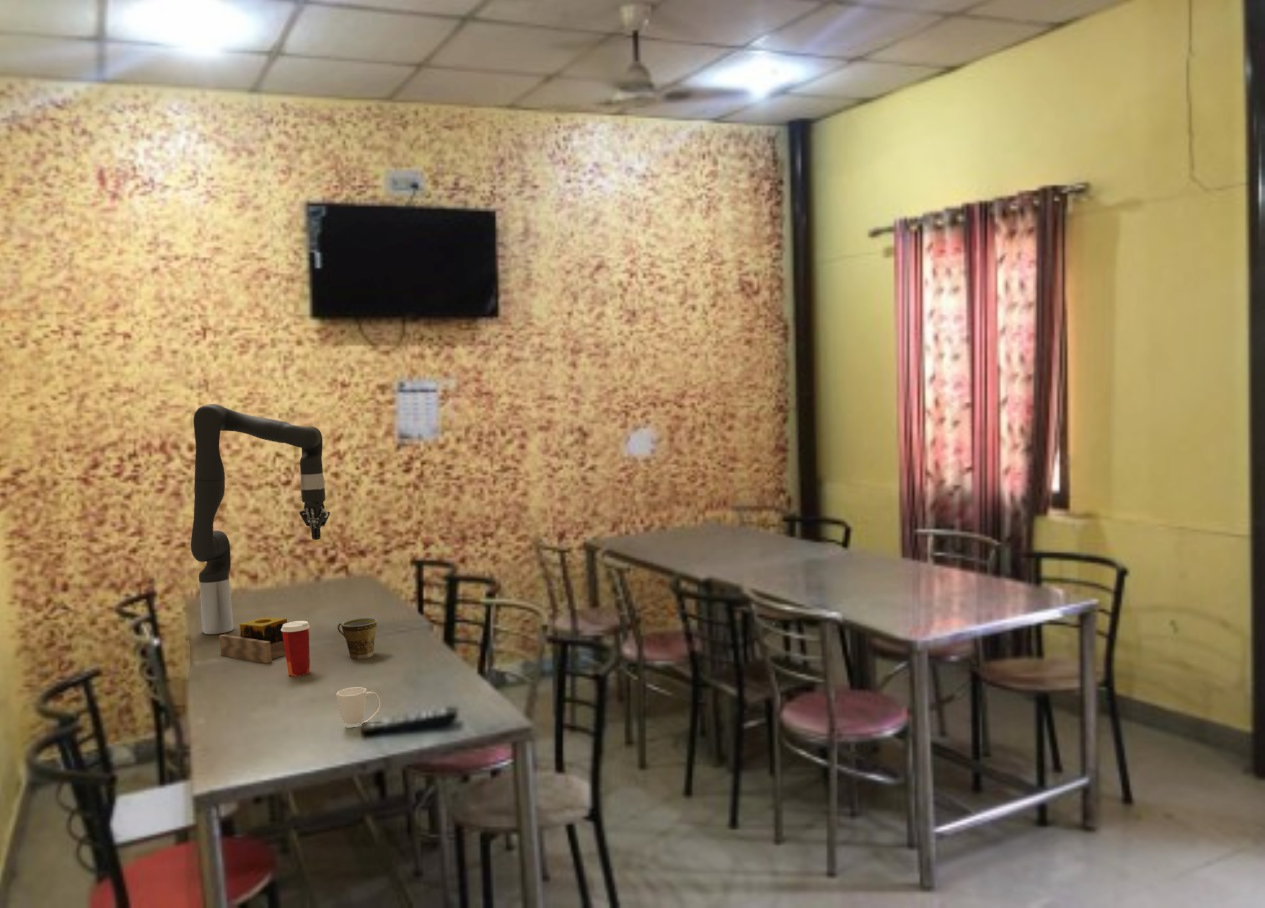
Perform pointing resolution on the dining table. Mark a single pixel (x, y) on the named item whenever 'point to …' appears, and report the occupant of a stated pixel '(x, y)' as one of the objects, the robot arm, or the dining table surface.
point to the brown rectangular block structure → (250, 648)
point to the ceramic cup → (359, 636)
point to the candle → (263, 629)
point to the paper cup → (297, 647)
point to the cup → (354, 704)
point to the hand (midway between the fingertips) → (316, 539)
